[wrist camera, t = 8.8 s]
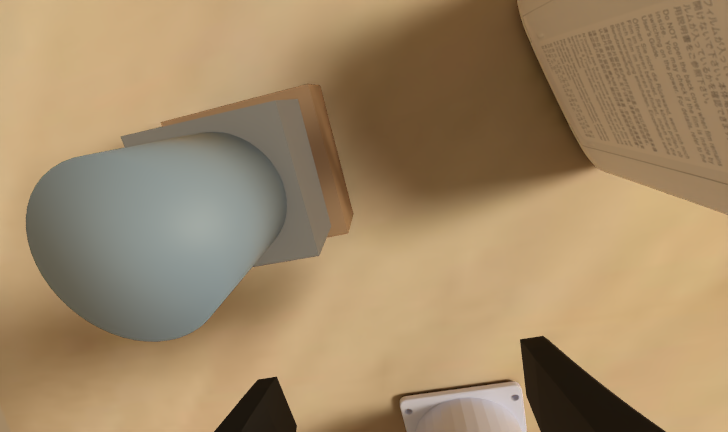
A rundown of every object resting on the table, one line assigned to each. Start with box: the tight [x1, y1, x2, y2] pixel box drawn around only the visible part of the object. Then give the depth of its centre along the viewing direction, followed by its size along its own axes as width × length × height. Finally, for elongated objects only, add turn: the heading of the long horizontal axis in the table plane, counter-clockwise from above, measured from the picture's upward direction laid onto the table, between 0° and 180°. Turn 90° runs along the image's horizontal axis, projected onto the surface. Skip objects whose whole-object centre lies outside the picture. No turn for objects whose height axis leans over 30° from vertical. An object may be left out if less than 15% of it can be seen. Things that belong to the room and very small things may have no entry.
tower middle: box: [121, 99, 331, 267], centre depth 15 cm, size 6×6×3 cm
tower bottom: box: [161, 84, 353, 237], centre depth 18 cm, size 7×7×3 cm
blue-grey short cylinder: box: [26, 132, 287, 342], centre depth 11 cm, size 5×5×5 cm
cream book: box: [517, 0, 728, 215], centre depth 11 cm, size 10×4×12 cm, turn 34°
